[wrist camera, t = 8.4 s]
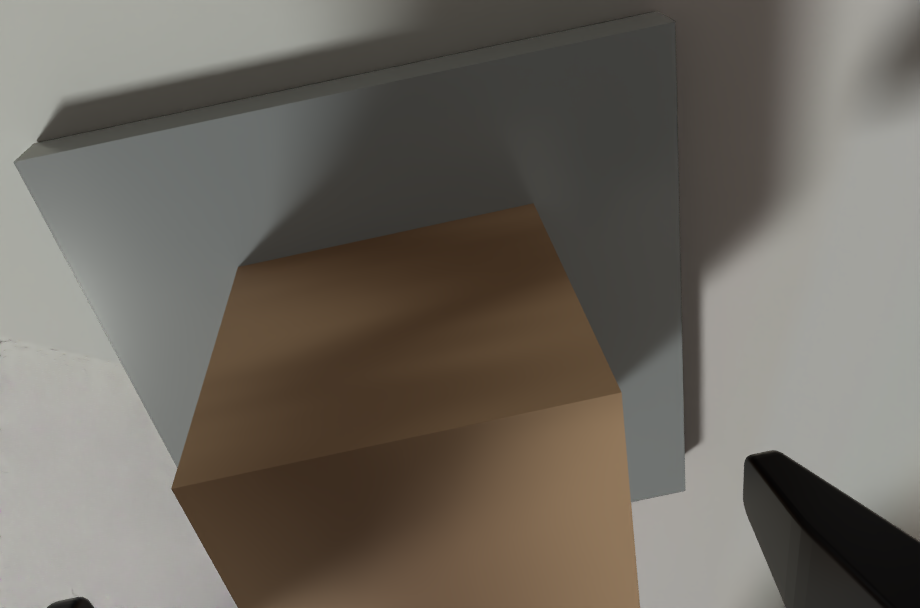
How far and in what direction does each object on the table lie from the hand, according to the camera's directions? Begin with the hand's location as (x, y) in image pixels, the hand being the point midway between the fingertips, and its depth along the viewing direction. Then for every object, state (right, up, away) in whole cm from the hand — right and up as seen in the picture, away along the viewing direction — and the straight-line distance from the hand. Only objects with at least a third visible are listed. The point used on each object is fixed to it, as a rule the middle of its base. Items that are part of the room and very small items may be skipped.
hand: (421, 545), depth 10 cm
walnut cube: (0, +2, +4) cm, 4 cm away
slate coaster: (0, +3, +4) cm, 5 cm away
